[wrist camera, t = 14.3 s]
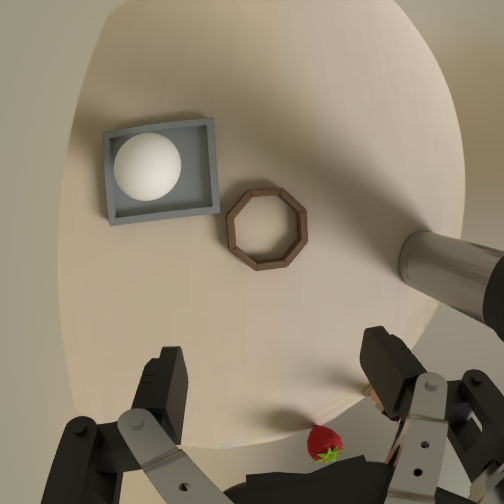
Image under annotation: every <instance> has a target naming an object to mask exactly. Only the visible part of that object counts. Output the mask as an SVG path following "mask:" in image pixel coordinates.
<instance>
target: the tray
mask: <svg viewBox="0 0 504 504" xmlns="http://www.w3.org/2000/svg"><path fill="white" fill-rule="evenodd" d="M143 133H155V134H159V135H162V136H164V137H166V138H168V139H169V140H170V141H171V142H172V143H173V144H174V145H175V147H176V148H177V150H178V152H179V155H180V159H181V171H180V176H179V178H178V181H177V183H176V184H175V186H174V187H173V188H172V189H171V190H170V191H169V192H168V193H167V194H166V195H164V196H162V197H160V198H158V199H155V200H151V201H141V200H136V199H134V198H131V197H129V196H128V195H126V194H125V193H124V192H123V191H122V190H121V188H120V187H119V185H118V184H117V182H116V179H115V175H114V162H115V158H116V156H117V153H118V151H119V150H120V148H121V147H122V146H123V144H124V143H125V142H126V141H128V140H129V139H130V138H132V137H134V136H136V135H139V134H143ZM103 155H104V174H105V187H106V199H107V208H108V217H109V225H110V226H115V225H122V224H130V223H137V222H145V221H153V220H161V219H170V218H178V217H187V216H196V215H206V214H216V213H221V212H220V200H219V188H218V175H217V162H216V148H215V133H214V118H203V119H192V120H182V121H173V122H165V123H157V124H150V125H144V126H137V127H131V128H125V129H120V130H115V131H109V132H104V133H103Z"/></svg>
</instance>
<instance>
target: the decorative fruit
mask: <svg viewBox="0 0 504 504" xmlns="http://www.w3.org/2000/svg"><path fill="white" fill-rule="evenodd" d="M307 446H308V452H309V454H310V455H311V457H312V458H313V459H314V460H316V461H314V462H326V464H327V463H328V462H330V460H332V461H336V457H337V456H339V455H341V454H343V453H340V452H341V450H343V448H342V446H343V444H342V441H341V438H340V436H339V435H338V434H337V433H335V432H334V431H333V430H331V429H329V428H327V427H323V426H319V425H314V426H313V428H312V431H311V432H310V435H309V437H308V440H307ZM332 461H331V462H332Z"/></svg>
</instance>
